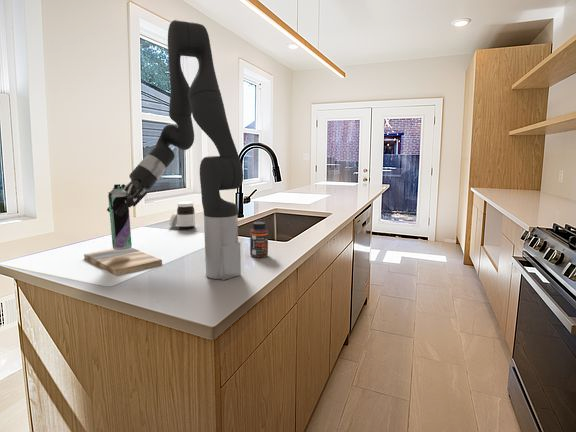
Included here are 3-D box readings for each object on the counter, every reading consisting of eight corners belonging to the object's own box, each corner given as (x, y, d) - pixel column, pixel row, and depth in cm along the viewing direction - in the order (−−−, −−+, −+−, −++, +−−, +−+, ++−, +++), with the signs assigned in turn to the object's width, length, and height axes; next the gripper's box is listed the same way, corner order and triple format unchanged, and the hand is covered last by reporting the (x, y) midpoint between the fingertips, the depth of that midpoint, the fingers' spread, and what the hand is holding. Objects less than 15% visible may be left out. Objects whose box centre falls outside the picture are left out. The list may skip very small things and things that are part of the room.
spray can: (124, 250, 113) (119, 185, 110) (108, 249, 115) (103, 184, 111) (135, 245, 119) (130, 183, 115) (120, 244, 120) (115, 183, 116)
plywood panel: (162, 264, 114) (161, 259, 114) (116, 275, 104) (115, 269, 104) (127, 250, 130) (126, 245, 130) (84, 258, 120) (84, 253, 120)
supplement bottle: (255, 259, 120) (255, 225, 118) (247, 255, 125) (246, 222, 123) (271, 256, 123) (271, 223, 121) (262, 252, 128) (262, 220, 126)
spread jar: (195, 230, 163) (194, 204, 161) (168, 231, 161) (166, 204, 159) (195, 224, 175) (194, 200, 173) (170, 225, 172) (169, 201, 170)
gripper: (129, 163, 122) (94, 203, 116) (150, 165, 113) (114, 208, 106) (145, 178, 127) (113, 217, 120) (167, 181, 117) (133, 224, 111)
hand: (113, 213), depth 113 cm, fingers closed on spray can, 5 cm apart
